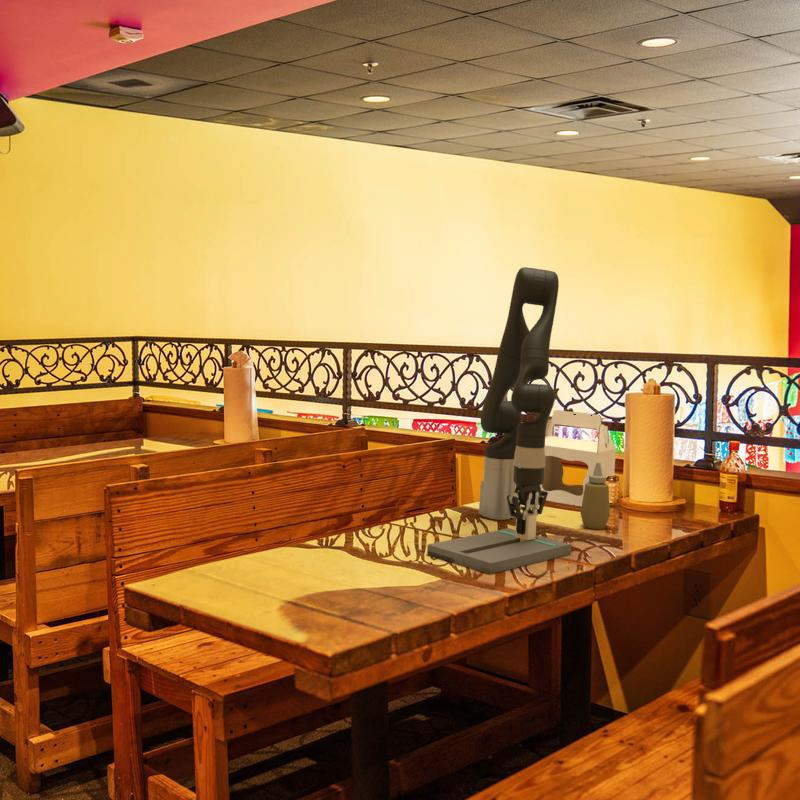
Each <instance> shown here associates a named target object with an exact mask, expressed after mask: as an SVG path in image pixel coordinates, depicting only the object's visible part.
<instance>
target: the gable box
mask: <svg viewBox="0 0 800 800" xmlns="http://www.w3.org/2000/svg"><path fill="white" fill-rule="evenodd" d="M573 414H576V415H573ZM591 415H592V416H591ZM551 416H552V417H551V418H549V419H548V422H547V427H546V434H545V469H544V483H543V484H542V485H540V487H541V490H542V491H546V492H548V495H547V498H546V501H547V502H551V503H552V502H553V503H558V504H563V505H569V506H573V505H575V507H579V506H580V508H581V507H582V501H583V495H584V489H585V484H586V483H588V482H589V475H593V473H594V469H595V466H596V463H601V470H602V476H606V478H607V477H608V476H614V477H615V469H616V454H617V453H616V451H617V448H616V445H615V444H614V442H613V439H612V437H611V435H610V432H609V425H604V424H602V423H603V420H604V419H603V417H602V416H601V415H600V414H597V413H596V414H595V413H594V414H593V413H587V412H580V411H578V412H577V411H568V410H560V409H555V410H554V411H552V415H551ZM555 425H556V426H566V427H575V428H582V429H589V430H595V431H596V430H597V431H598V438H597V440H598V441H592V440H587V439H577V438H571V437H570V438H569V437H561V436H556V435H555ZM562 460H565V461H568V462H569V461H570V462H571V461H572V462H582V463H585V464H586V465H587V467H588V468H587V469H588V470H587V473H586V474H585V477H584V479H583V484H573V485H568V484H565V483H564V482H563V477H564V467H563V464H562ZM605 484H606V483H605ZM546 501H545V502H546Z"/></svg>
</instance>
